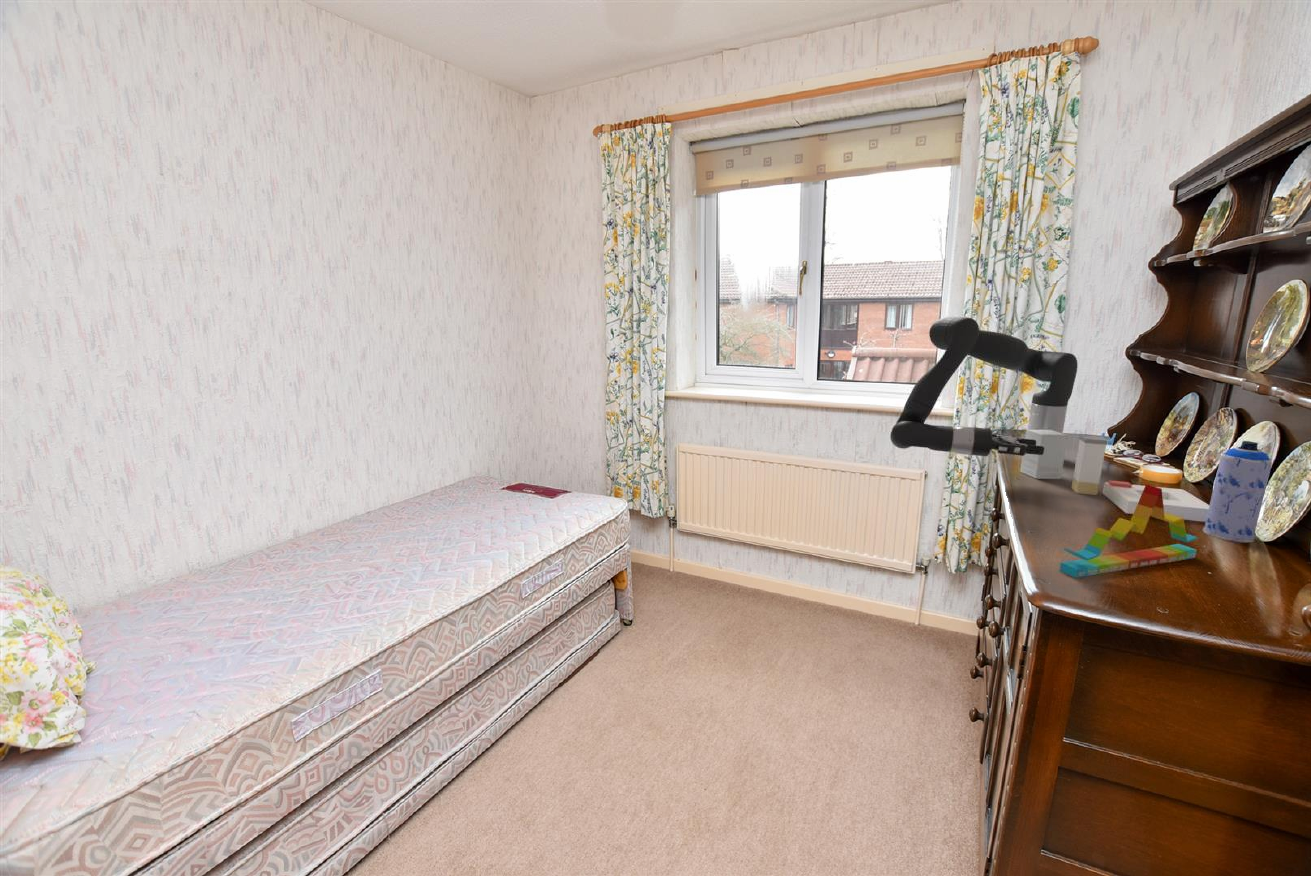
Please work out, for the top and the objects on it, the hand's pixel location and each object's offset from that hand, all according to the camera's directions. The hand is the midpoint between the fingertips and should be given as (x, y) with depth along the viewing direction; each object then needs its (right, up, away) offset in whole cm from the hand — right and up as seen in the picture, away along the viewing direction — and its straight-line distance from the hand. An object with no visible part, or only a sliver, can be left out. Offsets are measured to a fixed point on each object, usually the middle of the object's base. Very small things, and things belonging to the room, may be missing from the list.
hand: (1039, 447), depth 152 cm
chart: (-13, -21, -44) cm, 51 cm away
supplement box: (+9, -8, +13) cm, 18 cm away
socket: (+19, -14, -13) cm, 27 cm away
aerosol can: (+20, -18, -30) cm, 40 cm away
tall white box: (+11, -11, -1) cm, 16 cm away
